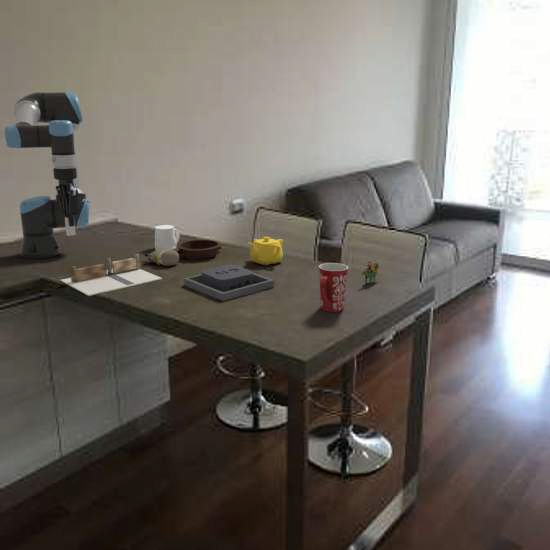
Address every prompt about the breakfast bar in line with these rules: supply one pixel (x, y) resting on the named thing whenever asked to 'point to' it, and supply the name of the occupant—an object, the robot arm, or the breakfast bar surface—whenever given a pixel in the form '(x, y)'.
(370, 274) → the figurine
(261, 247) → the teapot
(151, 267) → the breakfast bar surface
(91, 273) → the bar
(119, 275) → the card
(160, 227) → the mug
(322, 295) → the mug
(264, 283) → the speaker coaster
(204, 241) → the dish
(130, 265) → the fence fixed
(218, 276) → the streaming box
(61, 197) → the robot arm
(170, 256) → the toy
